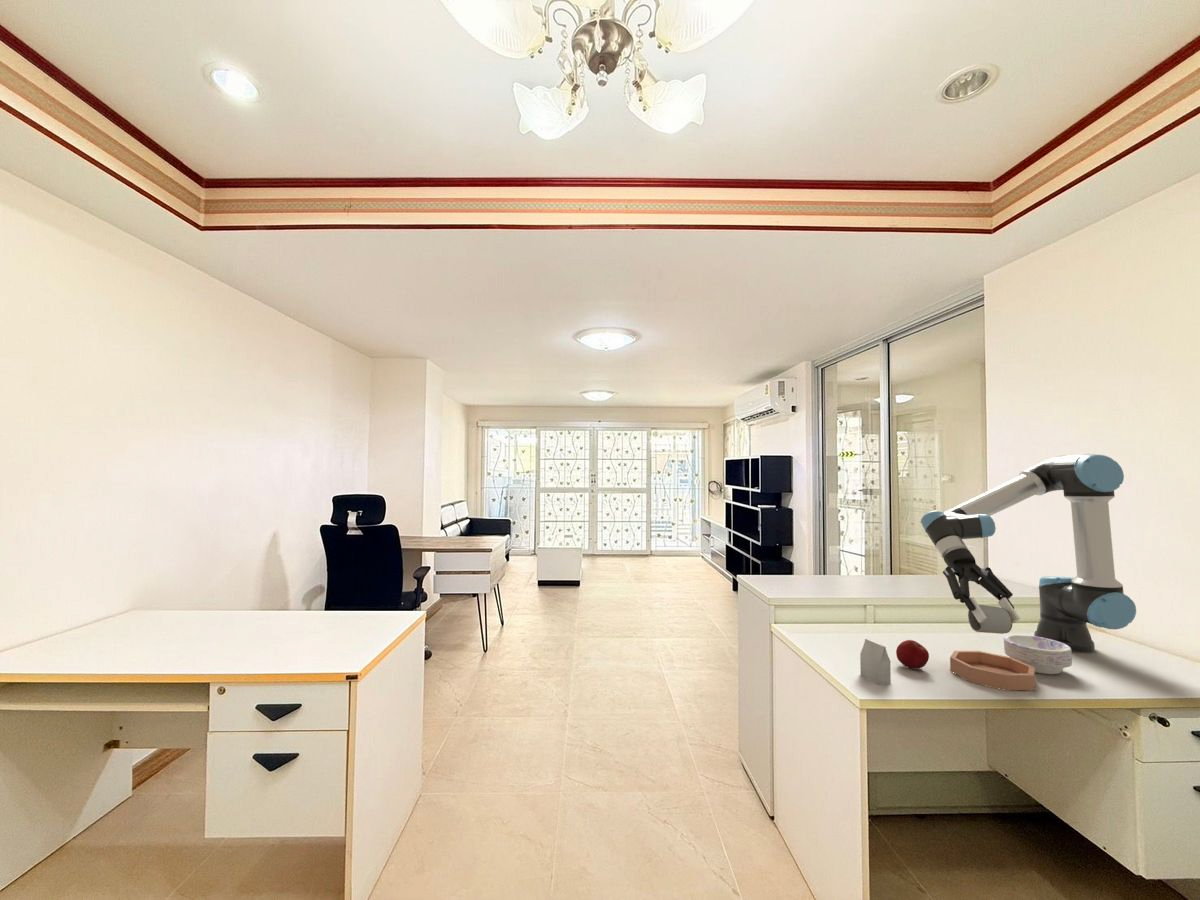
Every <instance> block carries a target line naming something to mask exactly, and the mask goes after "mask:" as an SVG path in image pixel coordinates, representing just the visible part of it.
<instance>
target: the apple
mask: <svg viewBox="0 0 1200 900" xmlns="http://www.w3.org/2000/svg"><path fill="white" fill-rule="evenodd" d="M895 654H896V658H897V660H898V661H899V663H900V664H901V665H903V666H904V667H906V668H909V669H911V670H919V669H922V668H923V667H924V666H926V665H927V663H928V661H929V659H930V653H929V651H928V650H927V648H926V647H925V646H924V645H922V644H921V643H919V642H917V641H915V640H912V639H906V640H903V641H902V642H901V643H900V644H898V646H897V647H896V651H895Z"/></svg>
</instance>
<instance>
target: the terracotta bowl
mask: <svg viewBox="0 0 1200 900" xmlns="http://www.w3.org/2000/svg"><path fill="white" fill-rule="evenodd" d="M949 670H950V672H951V671H952V672H951V673H953V672H954V673H953V674H955V673H956V674H955V675H957V676H959V677H960V676H961V677H960V678H962V677H963V678H962V679H964V678H965V680H966V679H967V680H966V681H968V680H969V681H968V682H970V683H973V682H974V684H977V683H979V684H978V685H981V684H982V685H983V686H985V685H987V686H986V687H989V686H991V687H990V688H993V687H995V689H998V688H1000V689H999V690H1002V689H1005V690H1004V691H1006V690H1034V691H1035V688H1036V687H1035V686H1036V672H1035V667H1032V666H1030V665H1028V664H1025V663H1023V662H1021V661H1018V660H1016V659H1014V658H1011V657H1009V656H1007V655H1001V654H996V653H991V652H986V651H981V650H953V652H952V653H951V655H950V657H949ZM1034 687H1035V688H1034Z"/></svg>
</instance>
